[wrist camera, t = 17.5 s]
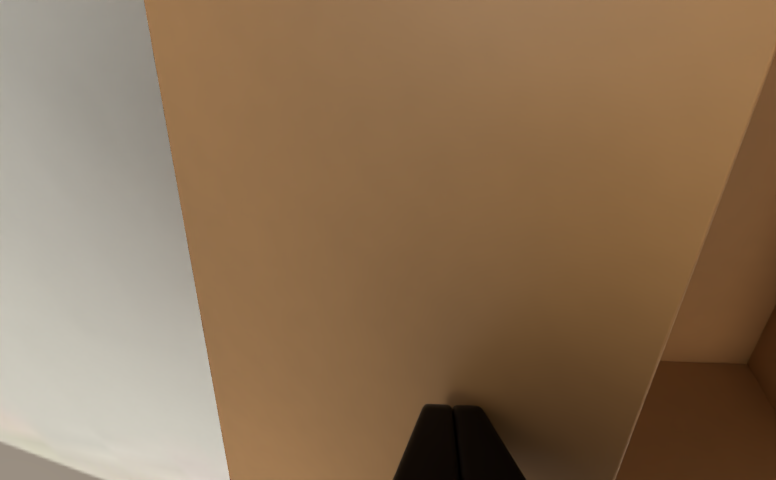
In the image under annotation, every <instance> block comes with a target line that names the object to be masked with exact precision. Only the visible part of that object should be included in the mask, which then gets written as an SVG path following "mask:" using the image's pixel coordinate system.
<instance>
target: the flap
mask: <svg viewBox="0 0 776 480" xmlns="http://www.w3.org/2000/svg"><path fill="white" fill-rule="evenodd" d="M144 3H145V9H146V15H147V20H148V26H149V31H150V37H151V42H152V48H153V53H154V59H155V65H156V70H157V76H158V81H159V87H160V92H161V98H162V104H163V109H164V115H165V120H166V126H167V131H168V137H169V142H170V148H171V154H172V159H173V165H174V170H175V176H176V181H177V187H178V192H179V198H180V204H181V209H182V215H183V220H184V226H185V231H186V237H187V242H188V248H189V254H190V259H191V265H192V270H193V276H194V281H195V287H196V292H197V298H198V304H199V309H200V315H201V320H202V326H203V331H204V337H205V343H206V348H207V354H208V359H209V365H210V370H211V376H212V381H213V387H214V393H215V398H216V404H217V409H218V415H219V420H220V426H221V431H222V437H223V443H224V448H225V454H226V459H227V465H228V470H229V476H230V480H393V478H394V475H395V473H396V470H397V468H398V465H399V463H400V461H401V458H402V456H403V453H404V451H405V448H406V446H407V444H408V441H409V439H410V436H411V434H412V431H413V429H414V426H415V424H416V422H417V419H418V417H419V414H420V412H421V409H422V407H423V406H424V405H425V404H447V405H449V406H451V408H453V407H454V406H455V405H472V406H479V407H481V408H482V409H483V411H484V412H485V414H486V415H487V417H488V418H489V420H490V422H491V423H492V425H493V426H494V428H495V430H496V431H497V433H498V435H499V436H500V438H501V439H502V441H503V443H504V444H505V446H506V448H507V449H508V451H509V452H510V454H511V456H512V457H513V459H514V461H515V462H516V464H517V465H518V467H519V469H520V470H521V472H522V473H523V475H524V477H525V478H526V480H615V479H616V476H617V473H618V471H619V468H620V465H621V463H622V460H623V457H624V455H625V452H626V450H627V447H628V444H629V442H630V439H631V436H632V434H633V431H634V428H635V426H636V423H637V420H638V418H639V415H640V412H641V410H642V407H643V404H644V402H645V399H646V396H647V394H648V391H649V388H650V386H651V383H652V380H653V378H654V375H655V372H656V370H657V367H658V364H659V362H660V359H661V356H662V354H663V351H664V348H665V346H666V343H667V341H668V338H669V335H670V333H671V330H672V327H673V325H674V322H675V319H676V317H677V314H678V311H679V309H680V306H681V303H682V301H683V298H684V295H685V293H686V290H687V287H688V285H689V282H690V279H691V277H692V274H693V271H694V269H695V266H696V263H697V261H698V258H699V255H700V253H701V250H702V247H703V245H704V242H705V239H706V237H707V234H708V232H709V229H710V226H711V224H712V221H713V218H714V216H715V213H716V210H717V208H718V205H719V202H720V200H721V197H722V194H723V192H724V189H725V186H726V184H727V181H728V178H729V176H730V173H731V170H732V168H733V165H734V162H735V160H736V157H737V154H738V152H739V149H740V146H741V144H742V141H743V138H744V136H745V133H746V130H747V128H748V125H749V123H750V120H751V117H752V115H753V112H754V109H755V107H756V104H757V101H758V99H759V96H760V93H761V91H762V88H763V85H764V83H765V80H766V77H767V75H768V72H769V69H770V67H771V64H772V61H773V59H774V56H775V53H776V0H144Z"/></svg>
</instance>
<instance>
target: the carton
mask: <svg viewBox="0 0 776 480" xmlns="http://www.w3.org/2000/svg"><path fill="white" fill-rule="evenodd" d="M615 480H776V53H775V56H774V59H773V61H772V64H771V67H770V69H769V72H768V75H767V77H766V80H765V83H764V85H763V88H762V91H761V93H760V96H759V99H758V101H757V104H756V107H755V109H754V112H753V115H752V117H751V120H750V123H749V125H748V128H747V130H746V133H745V136H744V138H743V141H742V144H741V146H740V149H739V152H738V154H737V157H736V160H735V162H734V165H733V168H732V170H731V173H730V176H729V178H728V181H727V184H726V186H725V189H724V192H723V194H722V197H721V200H720V202H719V205H718V208H717V210H716V213H715V216H714V218H713V221H712V224H711V226H710V229H709V232H708V234H707V237H706V239H705V242H704V245H703V247H702V250H701V253H700V255H699V258H698V261H697V263H696V266H695V269H694V271H693V274H692V277H691V279H690V282H689V285H688V287H687V290H686V293H685V295H684V298H683V301H682V303H681V306H680V309H679V311H678V314H677V317H676V319H675V322H674V325H673V327H672V330H671V333H670V335H669V338H668V341H667V343H666V346H665V348H664V351H663V354H662V356H661V359H660V362H659V364H658V367H657V370H656V372H655V375H654V378H653V380H652V383H651V386H650V388H649V391H648V394H647V396H646V399H645V402H644V404H643V407H642V410H641V412H640V415H639V418H638V420H637V423H636V426H635V428H634V431H633V434H632V436H631V439H630V442H629V444H628V447H627V450H626V452H625V455H624V457H623V460H622V463H621V465H620V468H619V471H618V473H617V476H616V479H615Z"/></svg>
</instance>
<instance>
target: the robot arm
mask: <svg viewBox="0 0 776 480" xmlns="http://www.w3.org/2000/svg"><path fill="white" fill-rule="evenodd" d="M393 480H526V478H525V477H524V475H523V473H522V472H521V470H520V469H519V467H518V465H517V464H516V462H515V461H514V459H513V457H512V456H511V454H510V452H509V451H508V449H507V448H506V446H505V444H504V443H503V441H502V439H501V438H500V436H499V435H498V433H497V431H496V430H495V428H494V426H493V425H492V423H491V422H490V420H489V418H488V417H487V415H486V414H485V412H484V411H483V409H482V408H481V407H479V406H472V405H455V406H454V407H453V408H451V406H449V405H447V404H425V405H424V406H423V407H422V409H421V412H420V414H419V417H418V419H417V422H416V424H415V426H414V429H413V431H412V434H411V436H410V439H409V441H408V444H407V446H406V448H405V451H404V453H403V456H402V458H401V461H400V463H399V465H398V468H397V470H396V473H395V475H394V478H393Z"/></svg>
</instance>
